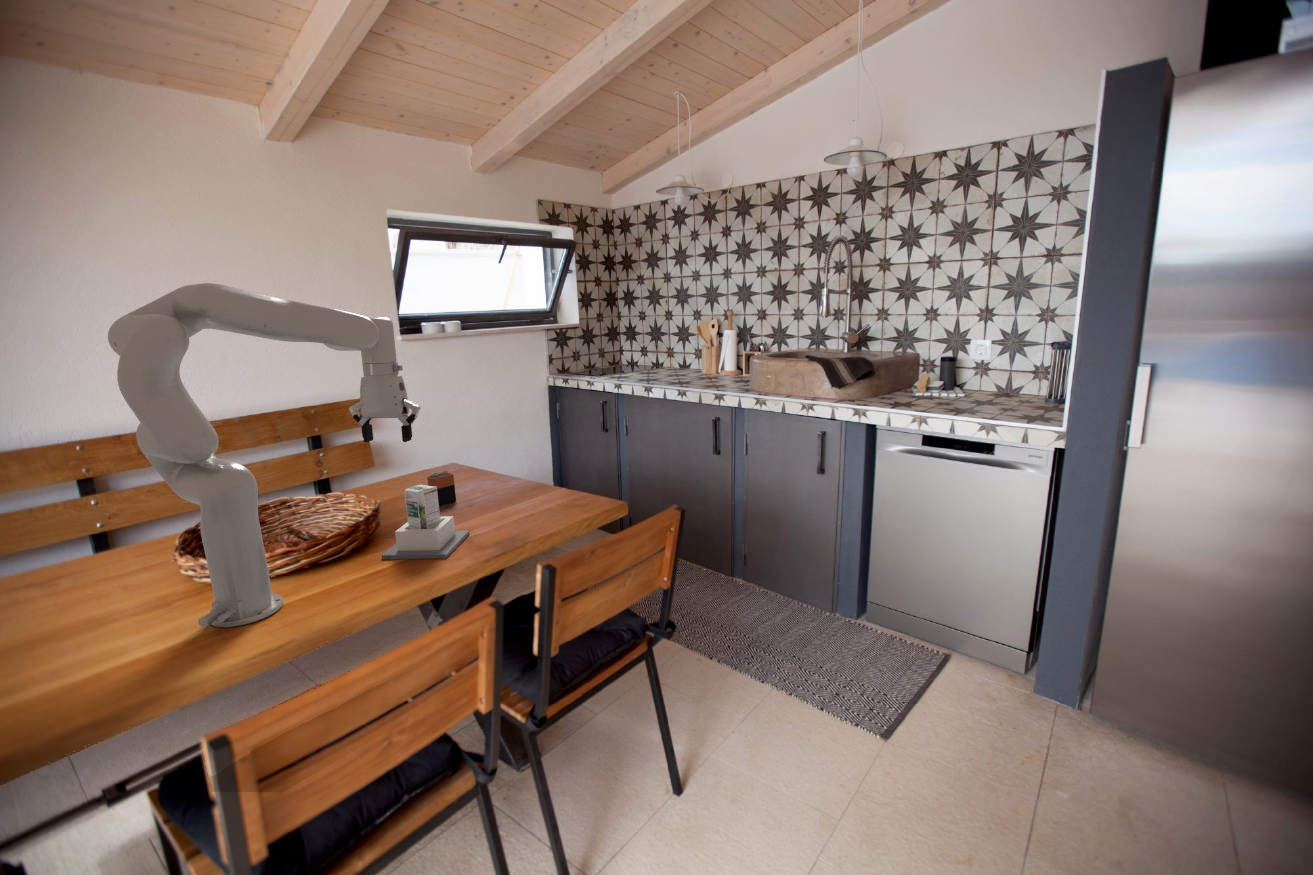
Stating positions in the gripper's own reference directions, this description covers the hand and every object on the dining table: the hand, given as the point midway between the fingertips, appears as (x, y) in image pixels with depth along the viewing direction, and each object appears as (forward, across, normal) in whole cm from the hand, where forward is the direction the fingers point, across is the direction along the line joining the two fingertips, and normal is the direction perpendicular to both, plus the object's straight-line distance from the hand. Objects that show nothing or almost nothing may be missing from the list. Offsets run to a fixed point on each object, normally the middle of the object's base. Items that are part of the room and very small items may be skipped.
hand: (387, 441), depth 147 cm
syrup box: (+27, -6, -3) cm, 28 cm away
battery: (+27, +5, -38) cm, 47 cm away
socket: (+28, -6, -3) cm, 29 cm away
